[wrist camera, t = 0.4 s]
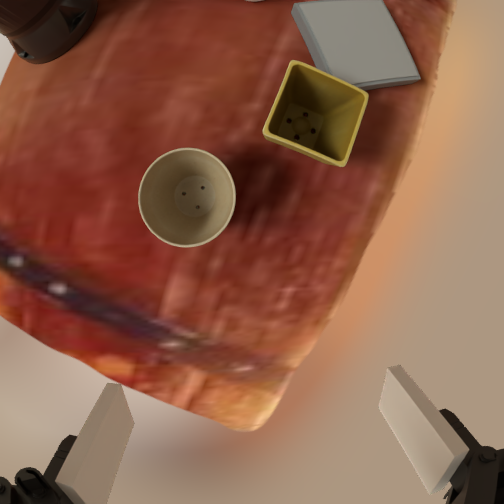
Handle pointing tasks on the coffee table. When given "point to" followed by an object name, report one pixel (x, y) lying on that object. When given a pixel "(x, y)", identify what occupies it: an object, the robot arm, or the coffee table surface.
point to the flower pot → (316, 114)
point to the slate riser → (356, 42)
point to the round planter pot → (187, 197)
